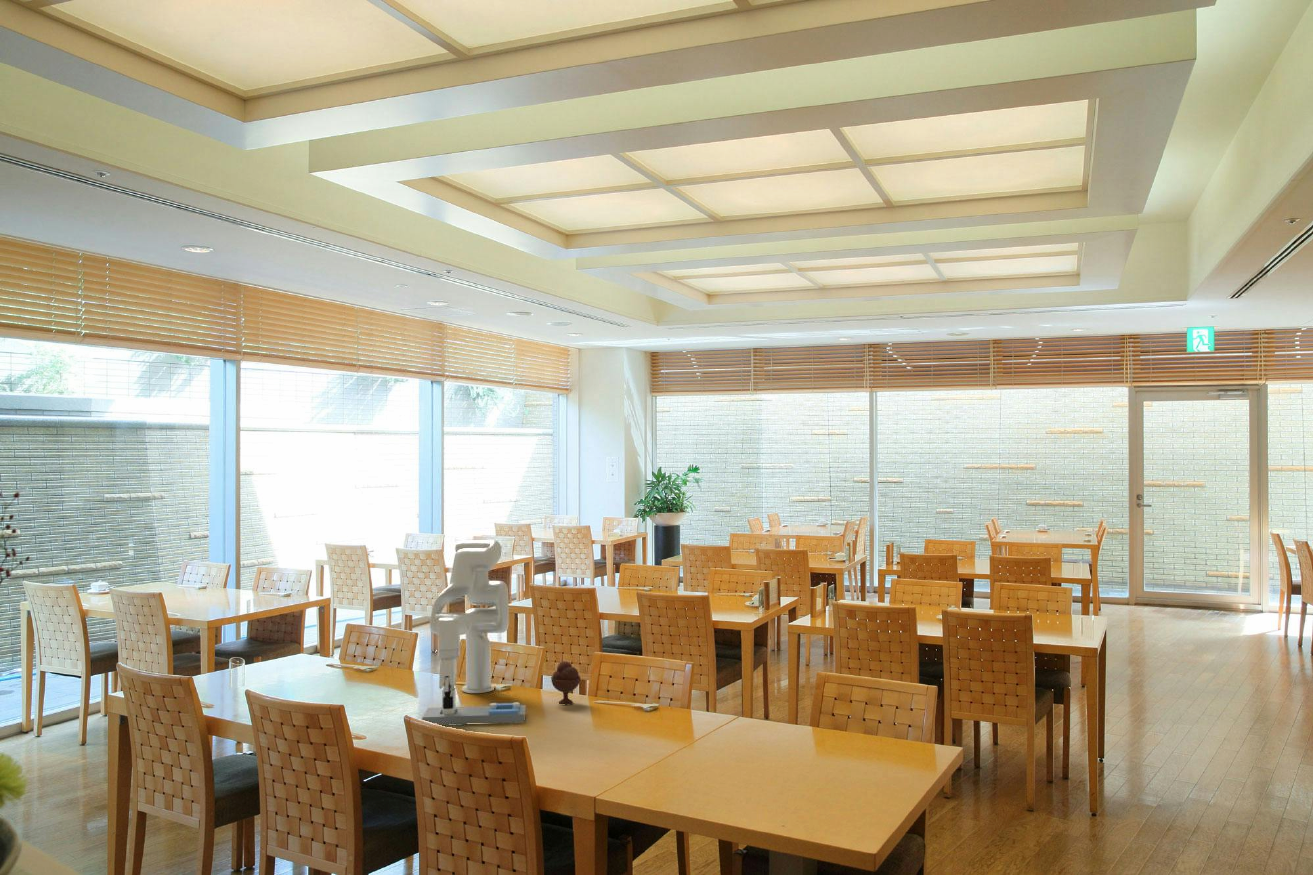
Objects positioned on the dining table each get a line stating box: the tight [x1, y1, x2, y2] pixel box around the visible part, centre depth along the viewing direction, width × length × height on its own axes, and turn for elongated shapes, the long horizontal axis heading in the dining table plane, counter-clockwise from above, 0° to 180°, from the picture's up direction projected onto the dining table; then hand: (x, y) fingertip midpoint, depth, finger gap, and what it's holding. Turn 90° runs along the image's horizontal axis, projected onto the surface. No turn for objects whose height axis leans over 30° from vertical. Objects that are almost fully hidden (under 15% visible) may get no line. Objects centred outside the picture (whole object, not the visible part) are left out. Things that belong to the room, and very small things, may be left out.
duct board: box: [421, 701, 527, 726], centre depth 319 cm, size 12×34×5 cm, turn 95°
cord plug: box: [441, 686, 457, 714], centre depth 318 cm, size 4×4×12 cm
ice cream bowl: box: [550, 661, 581, 705], centre depth 340 cm, size 11×11×15 cm
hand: (448, 706), depth 318 cm, fingers closed on cord plug, 4 cm apart
